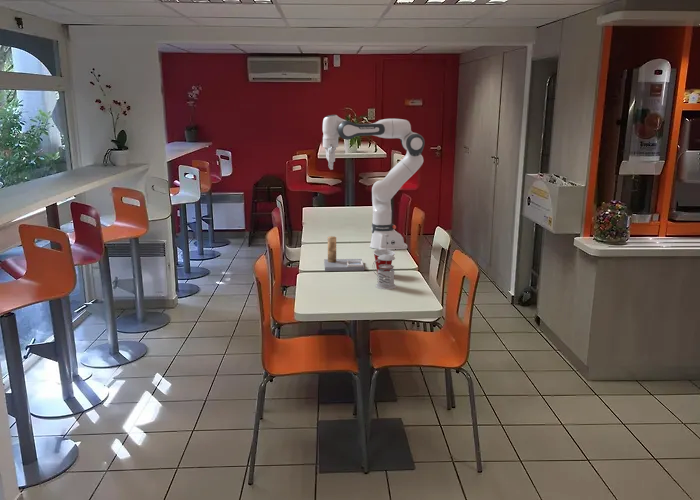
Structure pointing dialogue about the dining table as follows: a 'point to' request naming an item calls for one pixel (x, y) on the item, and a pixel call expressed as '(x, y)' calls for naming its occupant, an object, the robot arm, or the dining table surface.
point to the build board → (344, 265)
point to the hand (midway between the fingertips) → (330, 168)
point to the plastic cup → (377, 254)
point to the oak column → (331, 249)
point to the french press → (387, 282)
